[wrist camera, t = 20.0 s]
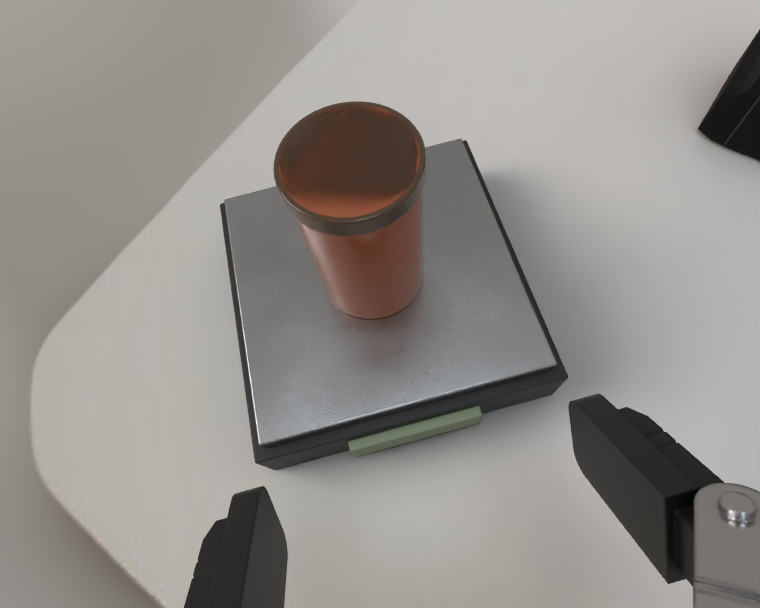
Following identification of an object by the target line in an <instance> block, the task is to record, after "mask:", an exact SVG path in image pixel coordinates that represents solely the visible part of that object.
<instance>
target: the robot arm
mask: <svg viewBox="0 0 760 608" xmlns="http://www.w3.org/2000/svg"><path fill="white" fill-rule="evenodd" d="M569 415H570V424H571V432H572V440H573V449H574V454H575V457H576V460H577V463H578V465H579V467H580V469H581V471H582V473H583V474H584V475H585V477H586V478H587V479H588V481H589V482H590V483H591V485H592V486H593V487H594V488H595V490H596V491H597V492H598V494H599V495H600V496H601V498H602V499H603V500H604V501H605V503H606V504H607V505H608V507H609V508H610V509H611V510H612V512H613V513H614V514H615V516H616V517H617V518H618V520H619V521H620V522H621V523H622V525H623V526H624V527H625V529H626V530H627V531H628V532H629V534H630V535H631V536H632V538H633V539H634V540H635V542H636V543H637V544H638V545H639V547H640V548H641V549H642V551H643V552H644V553H645V555H646V556H647V557H648V558H649V560H650V561H651V562H652V564H653V565H654V566H655V567H656V569H657V570H658V571H659V573H660V574H661V575H662V577H663V578H664V579H665V580H666V582H667V583H668V584H670V583H673V582H677V581H680V580H684V579H687V580H688V581H689V582H690V584H691V585H692V586H693V608H760V492H759V491H757V490H754V489H752V488H749V487H746V486H743V485H738V484H732V483H724V482H723V481H722V480H721V479H720V478H719V477H717V476H716V475H715V474H714V473H713V472H712V471H710V470H709V469H708V468H707V467H706V466H705V465H703V464H702V463H701V462H700V461H699V460H698V459H697V458H695V457H694V456H693V455H692V454H691V453H690V452H688V451H687V450H686V449H685V448H684V447H683V446H682V445H680V444H679V443H676V441H675V439H673V438H672V437H671V436H670V435H669V434H668V433H667V432H664V431H663V429H662V428H661V427H660V426H658V425H657V424H656V423H655V422H654V421H653V420H652V419H650V418H649V417H648V416H646V415H644V414H642V413H639V412H637V411H635V410H632V409H630V408H628V407H625V408H622V409H616V408H615V407H614V406H613V405H612V404H611V403H610V402H609V401H608V400H607V399H606V398H605V397H604V396H602V395H601V394H595V395H592V396H588V397H584V398H581V399H577V400H574V401H571V402H570V403H569ZM287 559H288V552H287V543H286V538H285V534H284V531H283V528H282V526H281V523H280V521H279V518H278V516H277V514H276V511H275V509H274V506H273V504H272V501H271V499H270V496H269V494H268V492H267V490H266V488H265V487H264V486H261V487H258V488H254V489H251V490H247V491H244V492H240V493H236V494H234V495H233V497H232V500H231V504H230V508H229V512H228V517H227V518H225V519H222V520H218V521H216V522H215V523H214V525H213V526H212V528H211V529H210V531H209V532H208V533H207V535H206V536H205V538H204V539H203V542H202V546H201V549H200V553H199V556H198V563H196V567H195V570H194V574H193V576H194V579H192V581H191V584H190V588H189V591H188V595H187V599H186V602H185V606H184V608H284V600H285V586H286V572H287Z"/></svg>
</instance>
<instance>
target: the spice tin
mask: <svg viewBox="0 0 760 608" xmlns="http://www.w3.org/2000/svg"><path fill="white" fill-rule="evenodd" d="M425 177H426V152H425V146H424V143H423V140H422V137H421V135H420V133H419V132H418V130H417V129H416V127H415V126H414V125H413V124H412V123H411V122H410V121H409V120H408V119H407V118H406V117H405V116H403V115H402V114H400V113H399V112H397V111H395V110H393V109H391V108H389V107H386V106H383V105H380V104H375V103H370V102H344V103H338V104H333V105H330V106H327V107H324V108H321V109H319V110H317V111H315V112H313V113H311V114H309V115H307V116H306V117H304V118H303V119H301V120H300V121H299V122H298V123H296V124H295V125H294V126H293V127H292V128H291V129H290V130H289V131H288V132H287V134H286V135H285V137H284V138H283V139H282V141H281V143H280V145H279V147H278V150H277V152H276V156H275V160H274V179H275V182H276V186H277V188H278V190H279V193H280V195H281V197H282V199H283V201H284V204H285V206H286V207H287V209H288V210H289V211H290V213H291V214H292V215H293V217H294V220H295V222H296V224H297V226H298V229H299V231H300V233H301V236H302V238H303V240H304V243H305V245H306V247H307V249H308V252H309V254H310V256H311V259H312V261H313V263H314V266H315V268H316V270H317V273H318V275H319V277H320V279H321V282H322V284H323V286H324V289H325V291H326V293H327V295H328V297H329V298H330V300H331V301H332V302H333V303H334V304H335V306H337V307H338V308H339V309H340V310H342V311H344V312H345V313H347V314H349V315H352V316H355V317H358V318H364V319H377V318H383V317H387V316H390V315H393V314H395V313H397V312H399V311H400V310H402V309H404V308H405V307H406V306H407V305H408V304H410V303H411V301H412V300H413V299H414V298H415V297H416V295H417V294H418V292H419V290H420V288H421V285H422V282H423V277H424V222H423V186H424V182H425Z"/></svg>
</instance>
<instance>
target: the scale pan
mask: <svg viewBox="0 0 760 608" xmlns="http://www.w3.org/2000/svg"><path fill="white" fill-rule="evenodd" d="M425 152H426V177H425V182H424V186H423V222H424V277H423V282H422V285H421V288H420V290H419V292H418V294H417V295H416V297H415V298H414V299H413V300H412V301H411V303H410V304H408V305H407V306H406V307H405V308H404V309H402V310H400V311H399V312H397V313H395V314H393V315H390V316H387V317H383V318H377V319H364V318H358V317H355V316H352V315H349V314H347V313H345V312H344V311H342V310H340V309H339V308H338V307H337V306H335V304H334V303H333V302H332V301H331V300H330V298H329V297H328V295H327V293H326V291H325V289H324V286H323V284H322V282H321V279H320V277H319V275H318V273H317V270H316V268H315V266H314V263H313V261H312V259H311V256H310V254H309V252H308V249H307V247H306V245H305V243H304V240H303V238H302V236H301V233H300V231H299V229H298V226H297V224H296V222H295V220H294V217H293V215H292V214H291V213H290V211H289V210H288V209H287V207H286V206H285V204H284V201H283V199H282V197H281V195H280V193H279V190H278V188H277V186H276V187H272V188H268V189H264V190H261V191H257V192H253V193H249V194H245V195H241V196H238V197H234V198H230V199H226V200H224V203H225V210H226V217H227V224H228V231H229V238H230V245H231V253H232V260H233V267H234V274H235V281H236V288H237V295H238V302H239V309H240V316H241V323H242V330H243V337H244V344H245V351H246V358H247V365H248V372H249V379H250V387H251V394H252V401H253V408H254V415H255V422H256V429H257V436H258V443H259V446H262V447H264V448H267V447H271V446H274V445H278V444H282V443H285V442H289V441H293V440H296V439H300V438H304V437H307V436H311V435H315V434H318V433H322V432H326V431H329V430H333V429H337V428H340V427H344V426H348V425H351V424H355V423H359V422H362V421H366V420H370V419H373V418H377V417H381V416H384V415H388V414H392V413H395V412H399V411H403V410H406V409H410V408H414V407H417V406H421V405H425V404H428V403H432V402H436V401H439V400H443V399H447V398H450V397H454V396H458V395H461V394H465V393H469V392H472V391H476V390H480V389H483V388H487V387H491V386H494V385H498V384H502V383H505V382H509V381H513V380H516V379H520V378H524V377H527V376H531V375H535V374H538V373H542V372H546V371H549V370H553V369H554V367H555V366H556V365H557V362H556V360H555V357H554V355H553V353H552V350H551V348H550V346H549V343H548V341H547V338H546V336H545V334H544V331H543V329H542V327H541V324H540V322H539V320H538V317H537V315H536V313H535V310H534V308H533V306H532V303H531V301H530V299H529V296H528V294H527V292H526V289H525V287H524V284H523V282H522V280H521V277H520V275H519V273H518V270H517V268H516V266H515V263H514V261H513V259H512V256H511V254H510V252H509V249H508V247H507V245H506V242H505V240H504V238H503V235H502V233H501V230H500V228H499V226H498V223H497V221H496V219H495V216H494V214H493V212H492V209H491V207H490V205H489V202H488V200H487V198H486V195H485V193H484V191H483V188H482V186H481V183H480V181H479V179H478V176H477V174H476V172H475V169H474V167H473V165H472V162H471V160H470V158H469V155H468V153H467V151H466V148H465V146H464V144H463V141H462V139H457V140H453V141H449V142H445V143H442V144H438V145H434V146H430V147H426V148H425Z"/></svg>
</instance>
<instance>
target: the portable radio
mask: <svg viewBox="0 0 760 608" xmlns="http://www.w3.org/2000/svg"><path fill="white" fill-rule="evenodd" d="M698 129H699V130H700V131H701V132H703V133H704V134H705V135H706V136H707V137H709V138H710V139H711V140H713V141H716V142H718V143H720V144H722V145H724V146H726V147H728V148H731V149H733V150H736V151H738V152H741V153H744V154H746V155H749V156H751V157H754V158H756V159H759V160H760V30H759V31H758V33H757V34H756V36H755V37H754V39H753V40H752V42H751V43H750V45H749V46H748V48H747V49H746V51H745V52H744V54H743V55H742V57H741V58H740V60H739V61H738V63H737V64H736V66H735V67H734V69H733V70H732V72H731V74H730V75H729V77H728V79H727V80H726V82H725V84H724V85H723V87H722V89H721V91H720V92H719V94H718V96H717V97H716V99H715V101H714V102H713V104H712V106H711V107H710V109H709V111H708V112H707V114H706V116H705V117H704V119H703V121H702V123H701V124H700V126H699V128H698Z"/></svg>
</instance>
